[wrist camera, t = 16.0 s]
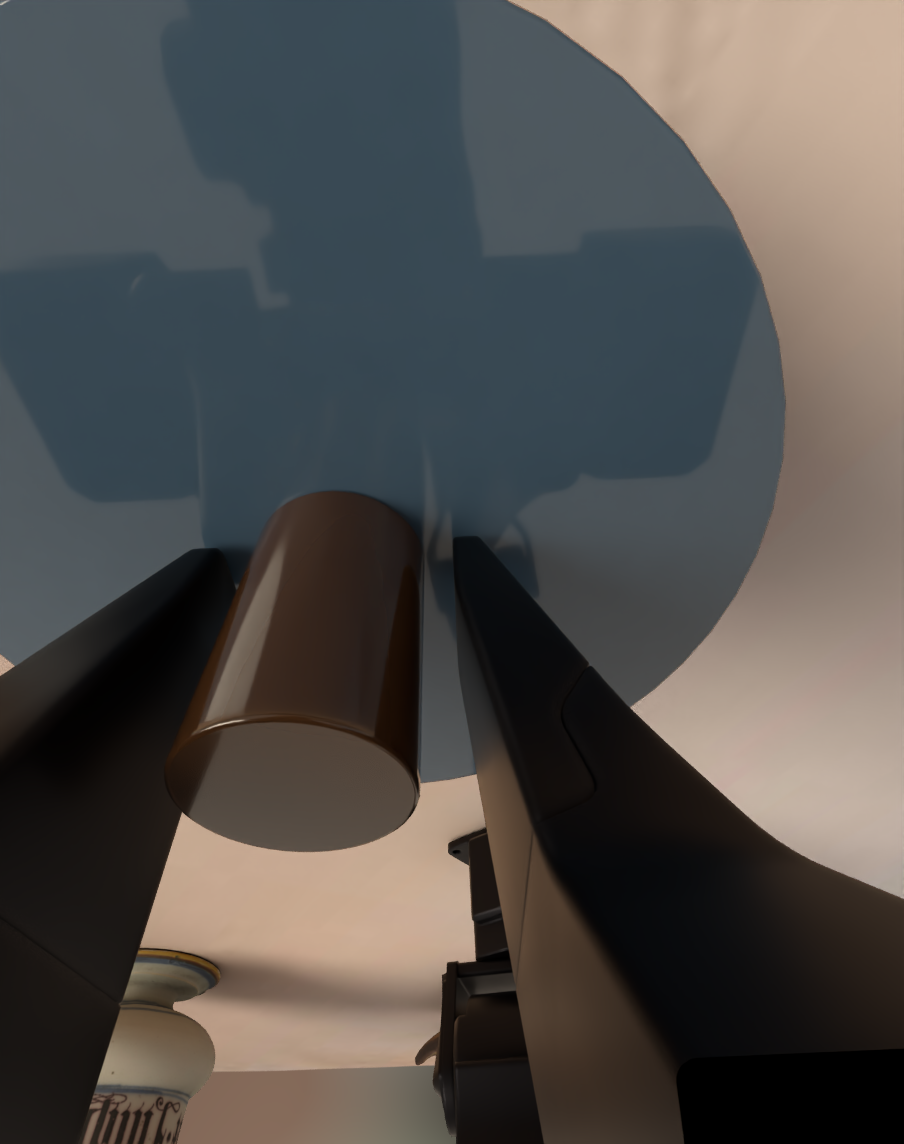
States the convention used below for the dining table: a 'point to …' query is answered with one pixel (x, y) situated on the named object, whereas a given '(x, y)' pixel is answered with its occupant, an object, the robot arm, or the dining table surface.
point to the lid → (363, 370)
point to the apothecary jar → (153, 1054)
